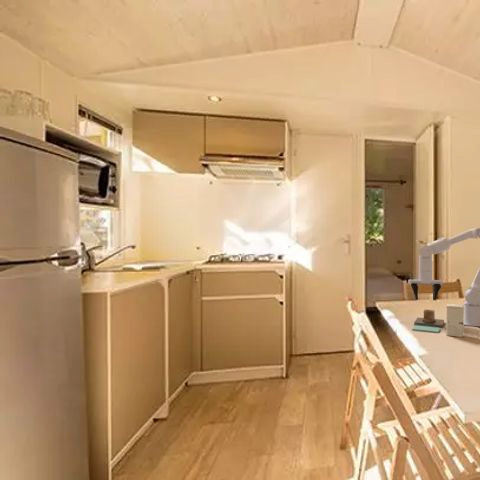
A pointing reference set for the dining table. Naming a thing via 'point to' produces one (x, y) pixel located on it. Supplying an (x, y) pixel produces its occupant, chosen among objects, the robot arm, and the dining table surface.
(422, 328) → the mat
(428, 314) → the brown block
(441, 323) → the socket plate
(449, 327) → the skincare box
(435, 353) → the dining table surface
